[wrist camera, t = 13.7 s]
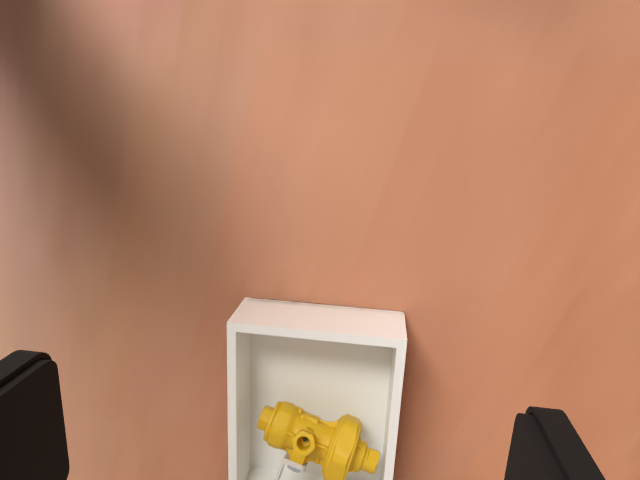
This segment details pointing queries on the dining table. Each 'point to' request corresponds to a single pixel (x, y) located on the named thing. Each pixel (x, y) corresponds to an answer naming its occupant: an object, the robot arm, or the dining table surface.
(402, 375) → the bin
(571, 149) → the dining table surface
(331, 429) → the pressure relief valve
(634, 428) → the dining table surface
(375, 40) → the dining table surface
